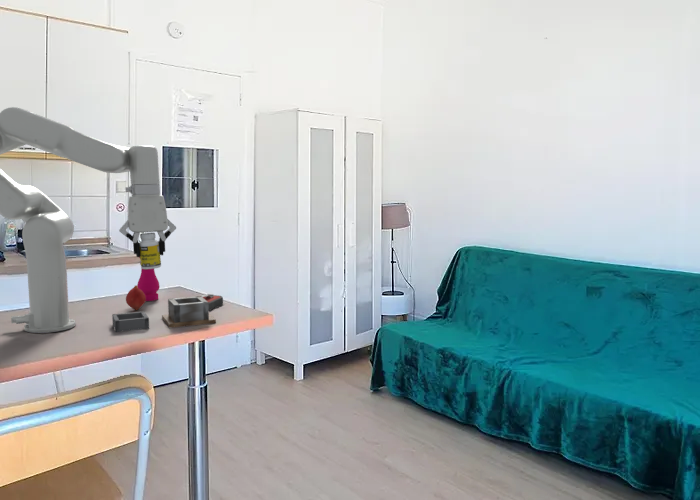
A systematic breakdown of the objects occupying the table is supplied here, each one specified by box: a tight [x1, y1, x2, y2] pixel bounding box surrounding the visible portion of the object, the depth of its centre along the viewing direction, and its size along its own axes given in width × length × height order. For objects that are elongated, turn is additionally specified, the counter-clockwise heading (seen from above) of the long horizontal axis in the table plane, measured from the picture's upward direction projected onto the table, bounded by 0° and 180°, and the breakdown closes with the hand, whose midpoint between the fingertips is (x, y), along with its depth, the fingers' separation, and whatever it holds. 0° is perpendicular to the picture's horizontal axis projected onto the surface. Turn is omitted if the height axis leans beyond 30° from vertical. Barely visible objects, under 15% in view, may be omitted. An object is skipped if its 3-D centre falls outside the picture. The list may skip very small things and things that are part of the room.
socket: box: [161, 295, 217, 329], centre depth 168 cm, size 13×12×6 cm
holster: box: [111, 310, 150, 333], centre depth 161 cm, size 9×9×3 cm
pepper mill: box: [137, 257, 160, 302], centre depth 195 cm, size 7×7×20 cm
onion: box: [125, 285, 146, 311], centre depth 180 cm, size 6×6×8 cm
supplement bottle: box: [139, 232, 162, 270], centre depth 161 cm, size 5×5×10 cm
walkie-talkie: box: [200, 293, 224, 311], centre depth 184 cm, size 9×4×20 cm
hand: (149, 255), depth 161 cm, fingers closed on supplement bottle, 5 cm apart
